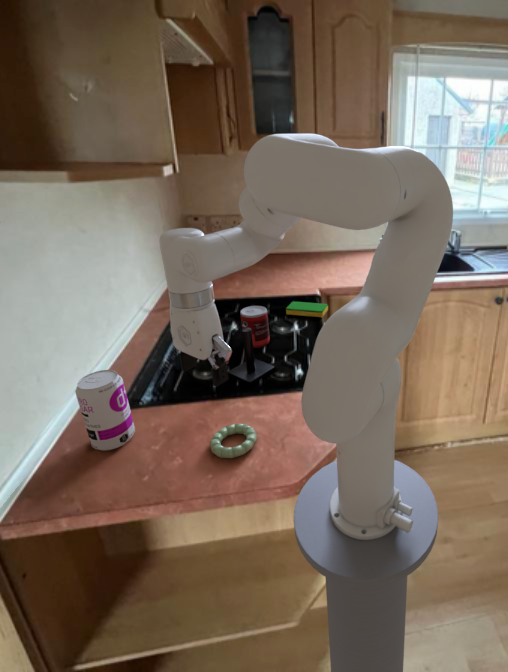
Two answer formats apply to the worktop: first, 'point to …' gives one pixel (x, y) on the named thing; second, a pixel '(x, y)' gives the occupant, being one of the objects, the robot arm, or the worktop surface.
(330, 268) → the worktop surface
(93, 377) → the supplement can
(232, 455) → the ring
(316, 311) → the dish sponge
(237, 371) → the stand
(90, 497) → the worktop surface
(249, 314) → the canned food
